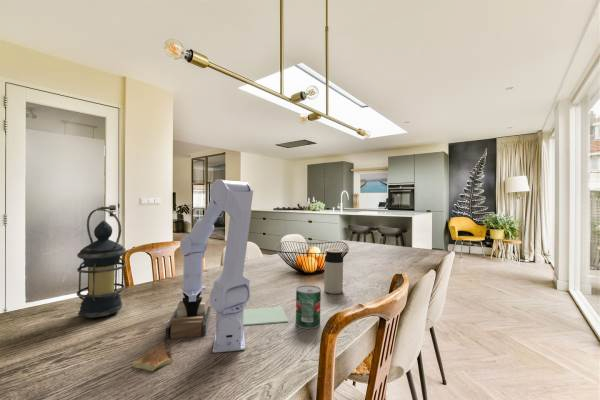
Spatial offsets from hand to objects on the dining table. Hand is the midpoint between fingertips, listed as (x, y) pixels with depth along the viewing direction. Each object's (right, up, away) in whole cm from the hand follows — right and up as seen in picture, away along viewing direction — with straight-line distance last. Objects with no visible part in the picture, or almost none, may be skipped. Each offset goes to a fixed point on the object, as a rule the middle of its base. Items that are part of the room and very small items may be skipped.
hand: (191, 316), depth 87 cm
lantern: (-32, -1, +4) cm, 32 cm away
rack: (+1, -1, -3) cm, 3 cm away
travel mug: (+49, -3, +33) cm, 59 cm away
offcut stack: (+2, -2, -8) cm, 8 cm away
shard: (-1, -2, -21) cm, 21 cm away
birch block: (0, -1, 0) cm, 1 cm away
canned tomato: (+37, -2, 0) cm, 37 cm away
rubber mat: (+19, -2, +4) cm, 20 cm away
